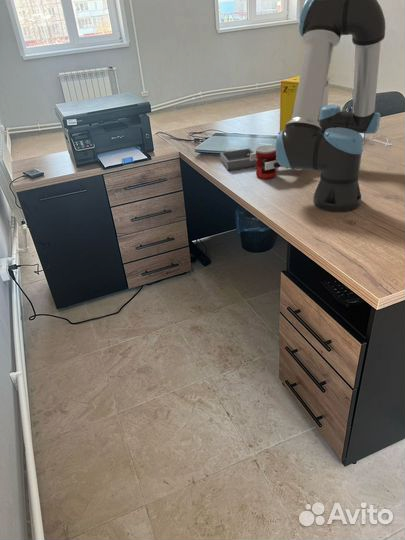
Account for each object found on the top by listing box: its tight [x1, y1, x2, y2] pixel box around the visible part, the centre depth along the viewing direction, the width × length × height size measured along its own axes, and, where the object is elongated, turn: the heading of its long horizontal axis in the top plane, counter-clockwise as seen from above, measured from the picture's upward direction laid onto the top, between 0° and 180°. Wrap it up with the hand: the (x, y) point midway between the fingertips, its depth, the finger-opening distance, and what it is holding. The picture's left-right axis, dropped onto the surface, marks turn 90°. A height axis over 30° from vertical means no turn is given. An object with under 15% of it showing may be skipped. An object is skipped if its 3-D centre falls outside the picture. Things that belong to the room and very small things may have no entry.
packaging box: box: [279, 75, 331, 132], centre depth 197 cm, size 16×16×25 cm
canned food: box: [255, 145, 277, 180], centre depth 156 cm, size 8×8×11 cm
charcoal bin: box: [219, 147, 256, 172], centre depth 172 cm, size 14×14×4 cm
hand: (257, 161), depth 154 cm, fingers open, 12 cm apart
